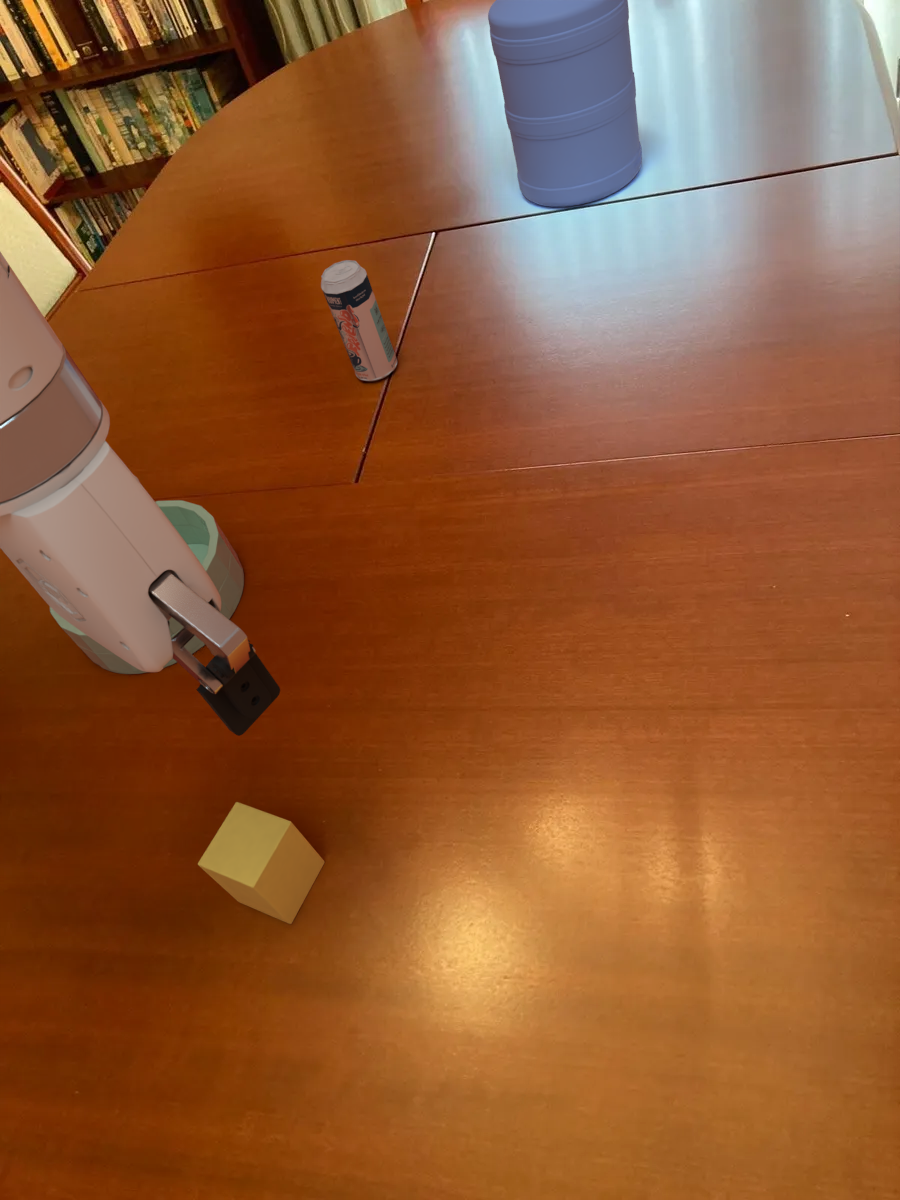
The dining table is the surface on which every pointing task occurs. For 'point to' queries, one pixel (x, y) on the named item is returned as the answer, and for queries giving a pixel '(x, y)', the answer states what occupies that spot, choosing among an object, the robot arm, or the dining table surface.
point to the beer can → (358, 320)
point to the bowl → (213, 557)
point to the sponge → (262, 862)
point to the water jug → (568, 96)
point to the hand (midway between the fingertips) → (200, 675)
